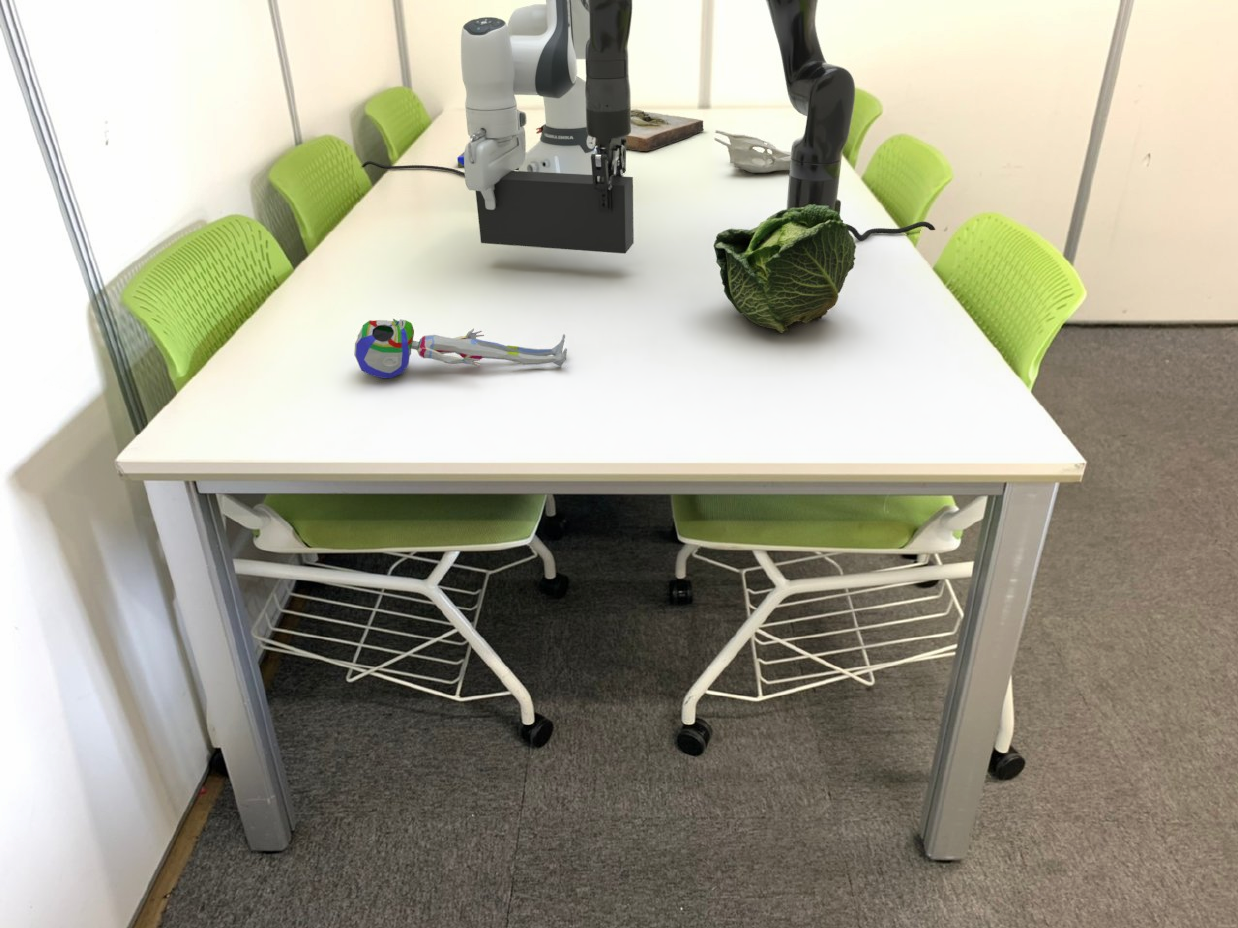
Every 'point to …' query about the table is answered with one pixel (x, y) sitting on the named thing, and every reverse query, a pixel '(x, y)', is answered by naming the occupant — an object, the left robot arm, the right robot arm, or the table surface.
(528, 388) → the table surface
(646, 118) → the plaque
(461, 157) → the pillar
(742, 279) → the vegetable
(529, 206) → the box
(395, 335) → the toy
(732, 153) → the anatomical model
